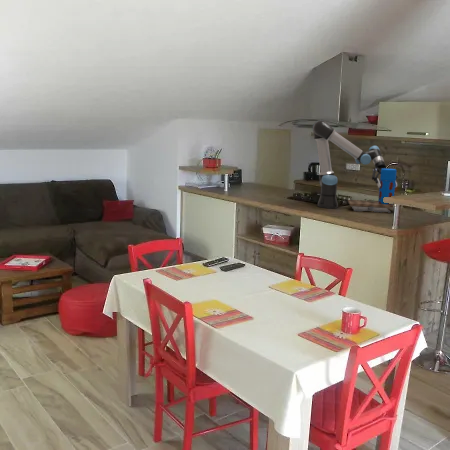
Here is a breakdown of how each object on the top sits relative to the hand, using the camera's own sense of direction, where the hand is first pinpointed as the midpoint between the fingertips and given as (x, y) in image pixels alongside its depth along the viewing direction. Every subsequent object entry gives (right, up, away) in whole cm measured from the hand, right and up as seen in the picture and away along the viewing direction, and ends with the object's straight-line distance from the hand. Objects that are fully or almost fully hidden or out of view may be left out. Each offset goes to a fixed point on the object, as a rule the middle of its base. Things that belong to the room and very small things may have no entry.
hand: (388, 186), depth 369 cm
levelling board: (-11, -12, +5) cm, 17 cm away
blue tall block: (0, -12, +4) cm, 13 cm away
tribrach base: (-11, -17, +7) cm, 21 cm away
